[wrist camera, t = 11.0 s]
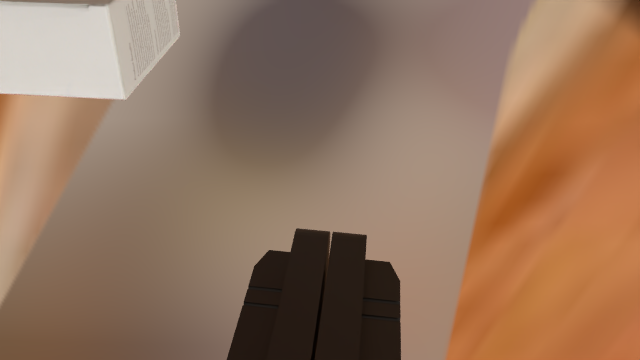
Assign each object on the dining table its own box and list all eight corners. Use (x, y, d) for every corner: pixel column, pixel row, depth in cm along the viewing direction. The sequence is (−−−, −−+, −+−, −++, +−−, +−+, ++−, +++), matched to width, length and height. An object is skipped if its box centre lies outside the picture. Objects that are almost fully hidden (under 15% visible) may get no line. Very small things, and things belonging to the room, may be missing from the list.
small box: (76, 32, 41) (-8, 95, 33) (56, -49, 38) (-42, -2, 30) (183, 37, 41) (126, 104, 32) (172, -45, 38) (106, 5, 29)
